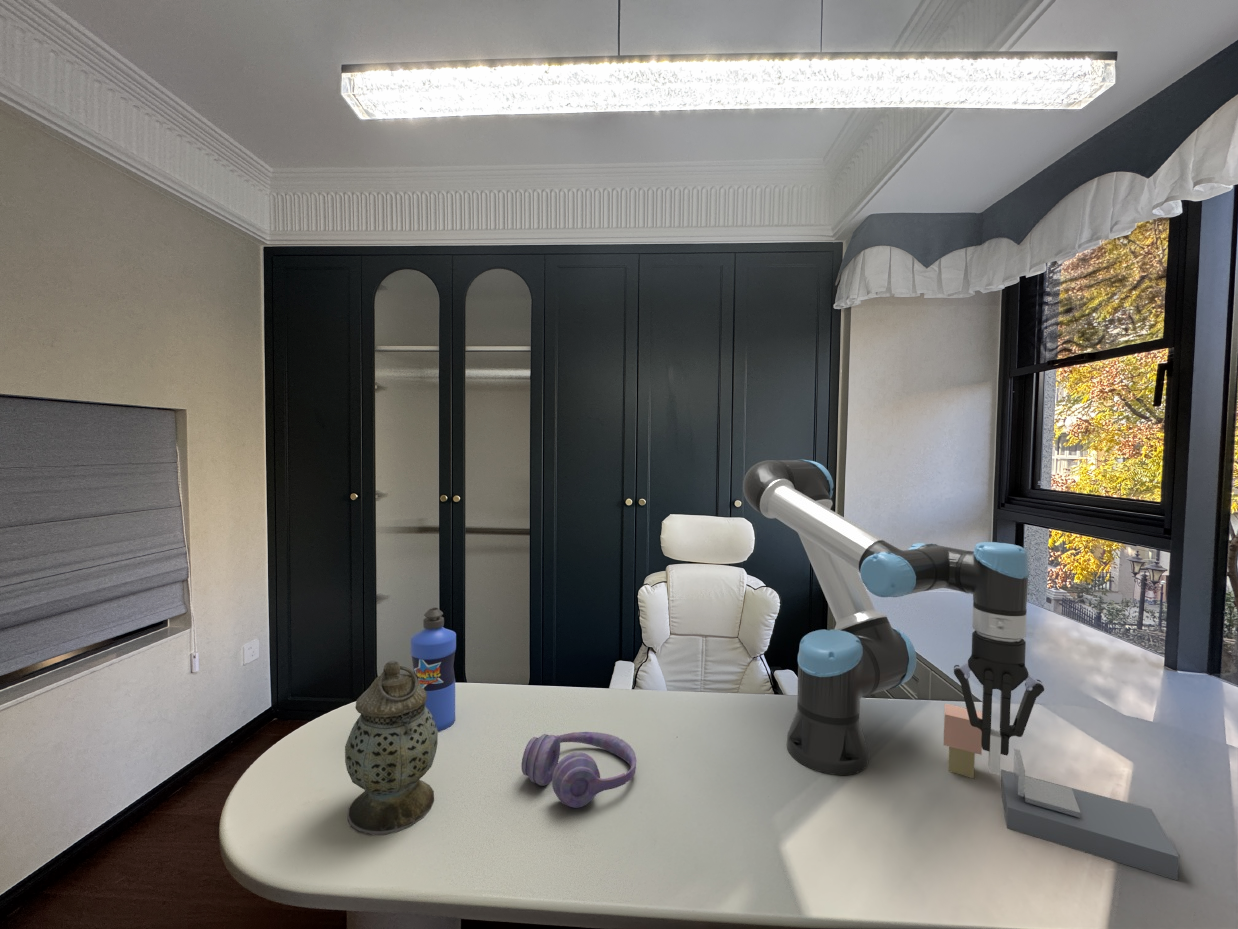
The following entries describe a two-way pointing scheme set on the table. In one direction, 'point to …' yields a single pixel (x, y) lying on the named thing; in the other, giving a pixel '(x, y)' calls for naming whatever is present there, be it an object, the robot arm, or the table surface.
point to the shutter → (1043, 791)
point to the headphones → (574, 766)
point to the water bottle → (436, 667)
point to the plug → (961, 740)
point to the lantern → (391, 754)
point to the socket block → (1095, 828)
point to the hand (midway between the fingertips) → (994, 770)
